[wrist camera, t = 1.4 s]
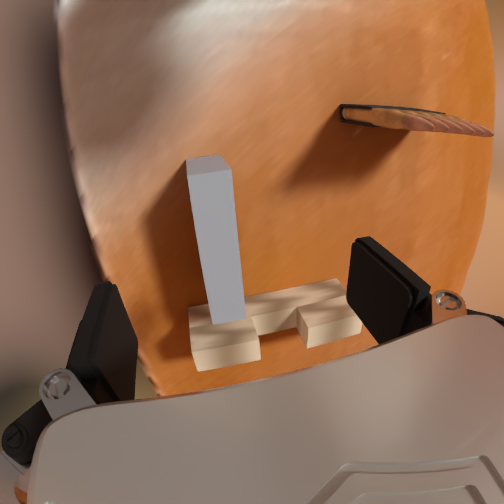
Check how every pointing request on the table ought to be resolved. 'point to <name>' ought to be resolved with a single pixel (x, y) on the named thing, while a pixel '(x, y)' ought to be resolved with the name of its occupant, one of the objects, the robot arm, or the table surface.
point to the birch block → (272, 323)
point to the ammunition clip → (409, 119)
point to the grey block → (217, 236)
